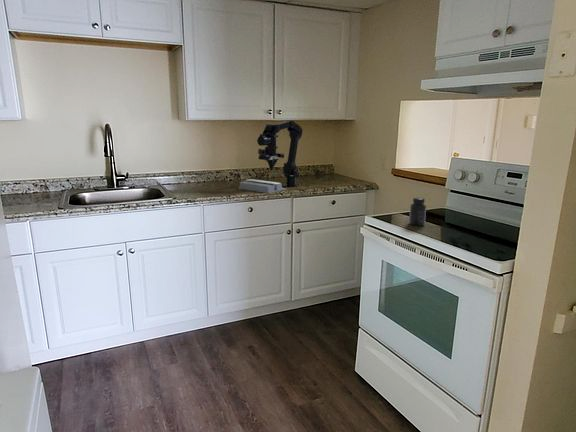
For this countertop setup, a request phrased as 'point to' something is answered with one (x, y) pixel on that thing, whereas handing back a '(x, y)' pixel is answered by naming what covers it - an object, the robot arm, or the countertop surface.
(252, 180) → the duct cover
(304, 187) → the countertop surface
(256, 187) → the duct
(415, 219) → the supplement bottle
